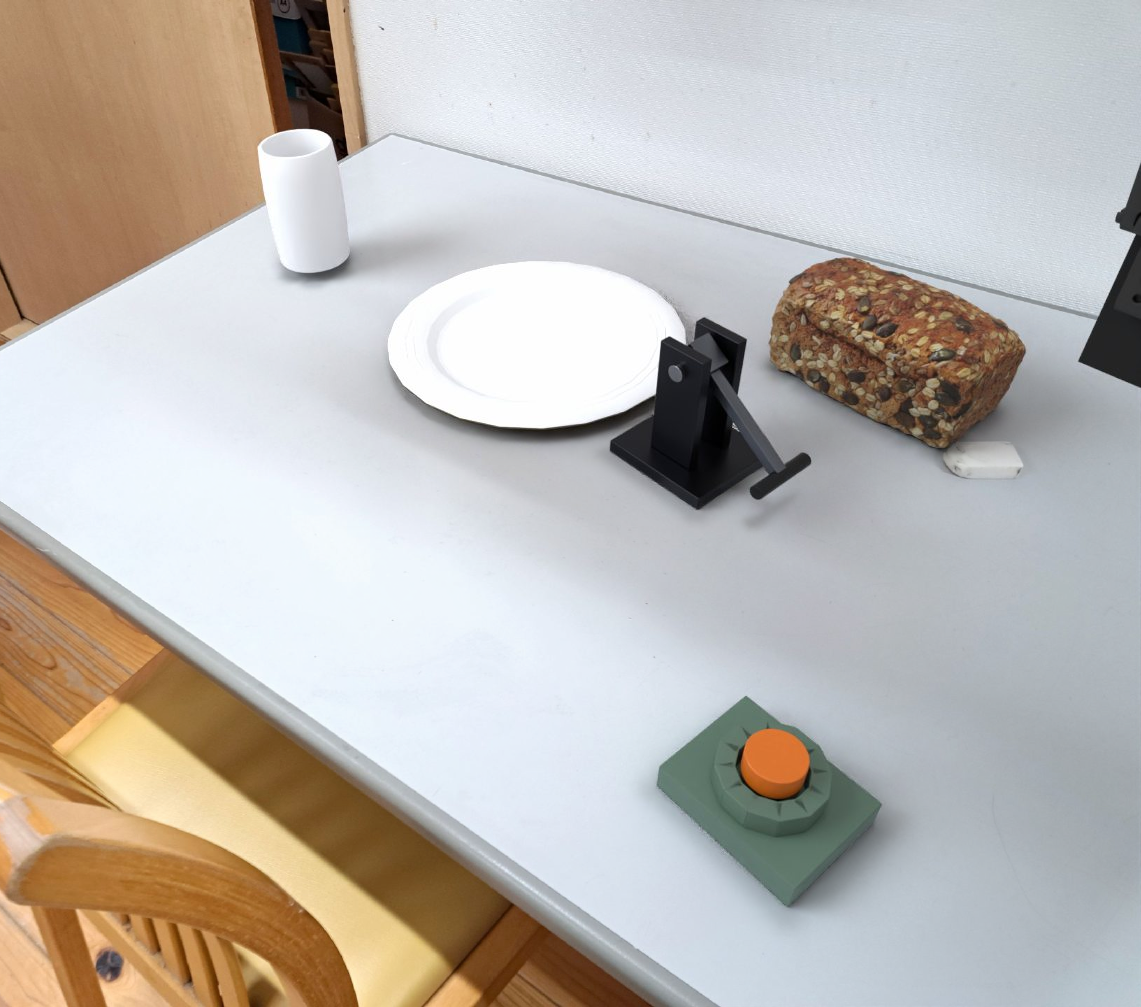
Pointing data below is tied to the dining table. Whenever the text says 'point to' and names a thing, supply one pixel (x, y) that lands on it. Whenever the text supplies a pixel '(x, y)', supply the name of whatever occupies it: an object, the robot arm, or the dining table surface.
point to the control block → (767, 804)
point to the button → (774, 763)
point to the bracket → (691, 423)
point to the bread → (894, 348)
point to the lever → (748, 424)
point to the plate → (533, 344)
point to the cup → (304, 199)
